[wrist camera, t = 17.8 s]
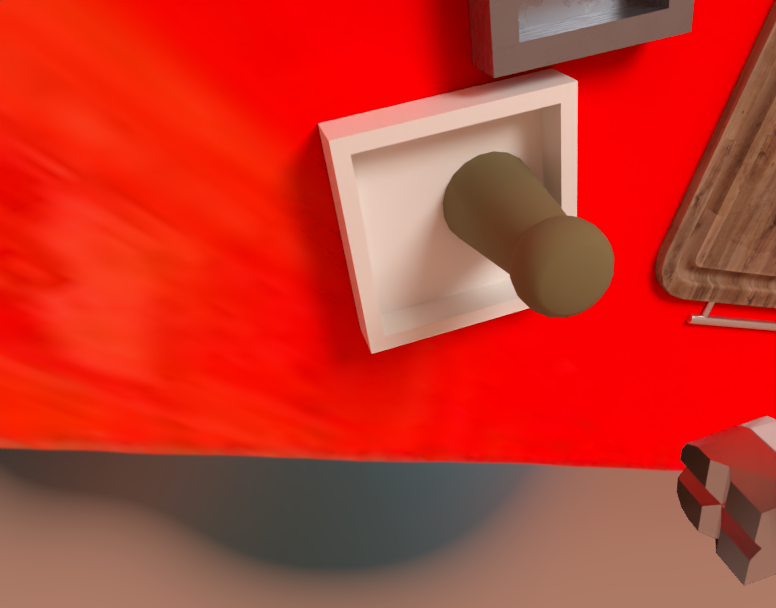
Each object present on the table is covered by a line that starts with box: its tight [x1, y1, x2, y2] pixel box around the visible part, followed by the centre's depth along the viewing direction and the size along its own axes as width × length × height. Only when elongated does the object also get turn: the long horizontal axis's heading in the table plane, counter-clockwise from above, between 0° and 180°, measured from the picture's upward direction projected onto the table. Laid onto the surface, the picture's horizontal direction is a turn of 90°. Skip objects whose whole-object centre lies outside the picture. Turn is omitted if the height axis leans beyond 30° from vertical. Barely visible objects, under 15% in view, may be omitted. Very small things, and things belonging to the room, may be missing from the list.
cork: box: [443, 151, 614, 317], centre depth 38 cm, size 6×6×11 cm
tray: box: [318, 68, 578, 354], centre depth 42 cm, size 14×14×3 cm
